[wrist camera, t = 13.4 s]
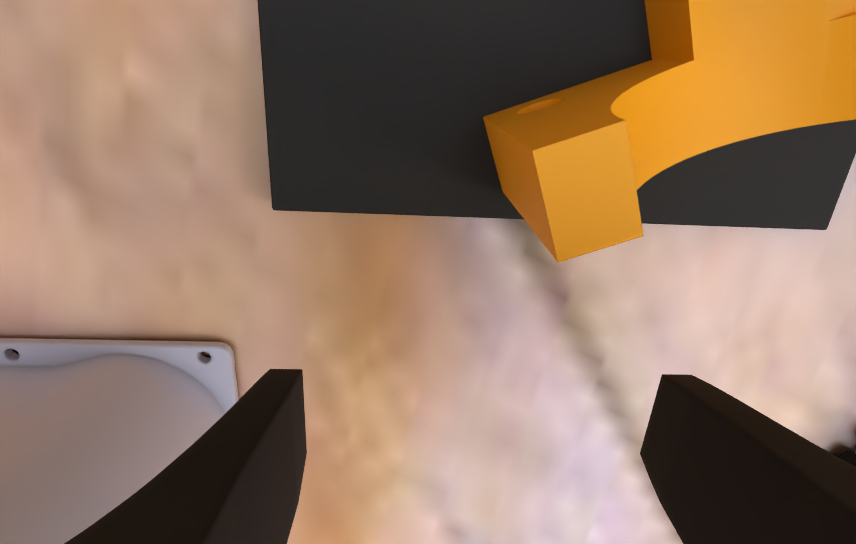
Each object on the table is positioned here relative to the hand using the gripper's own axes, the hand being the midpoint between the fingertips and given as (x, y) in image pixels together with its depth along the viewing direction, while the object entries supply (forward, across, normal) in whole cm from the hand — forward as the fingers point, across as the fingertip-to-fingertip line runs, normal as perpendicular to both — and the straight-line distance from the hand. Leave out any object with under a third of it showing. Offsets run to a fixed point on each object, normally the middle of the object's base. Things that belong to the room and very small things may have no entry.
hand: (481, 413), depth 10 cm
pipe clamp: (+9, -7, -7) cm, 13 cm away
